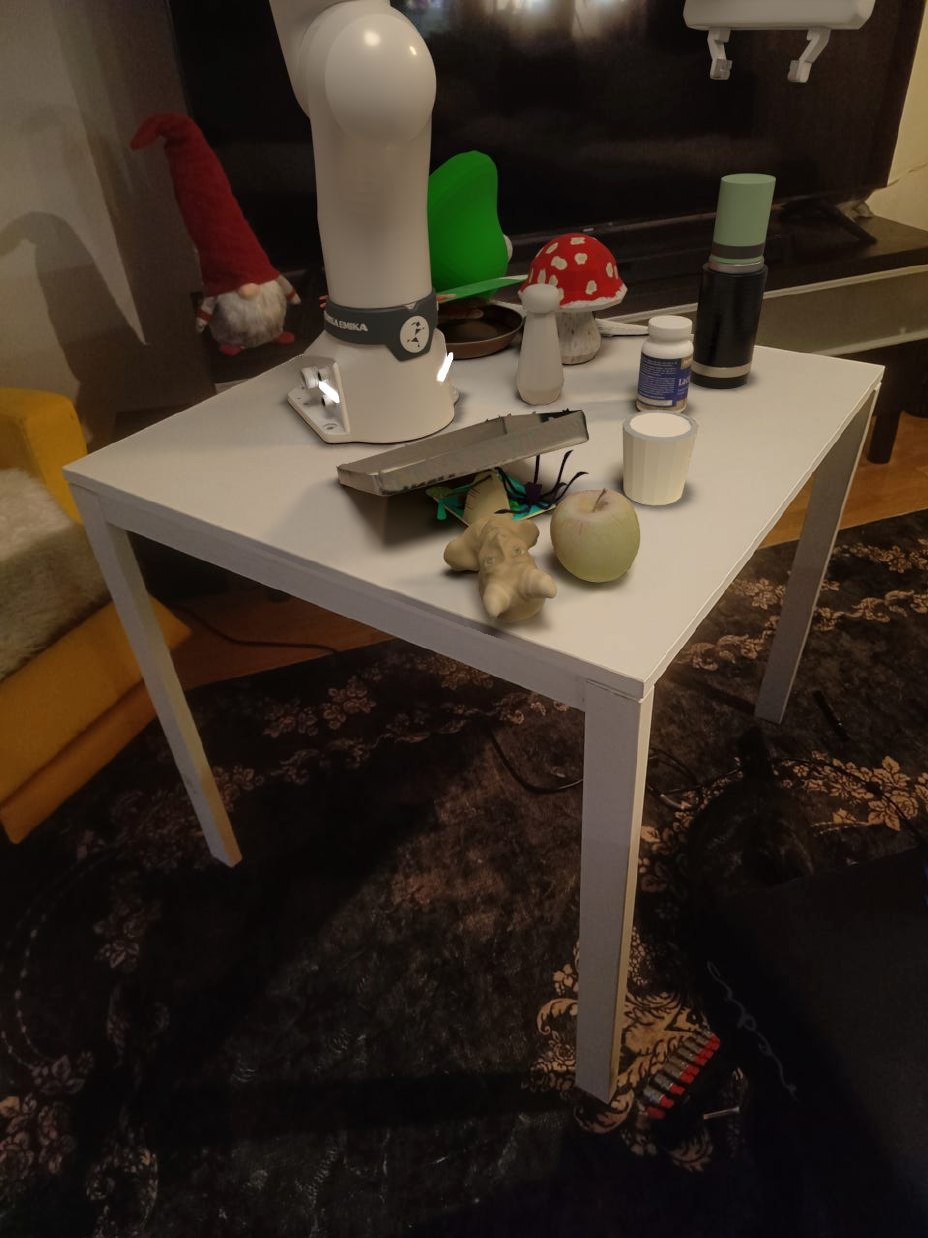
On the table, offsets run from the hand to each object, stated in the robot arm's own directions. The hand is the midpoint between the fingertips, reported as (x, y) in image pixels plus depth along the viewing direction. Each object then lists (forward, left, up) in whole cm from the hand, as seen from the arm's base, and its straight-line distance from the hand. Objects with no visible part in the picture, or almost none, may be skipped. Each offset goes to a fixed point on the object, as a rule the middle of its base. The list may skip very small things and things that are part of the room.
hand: (756, 80), depth 87 cm
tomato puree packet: (-27, -31, -23) cm, 47 cm away
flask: (+5, -7, -30) cm, 31 cm away
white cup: (+19, -34, -30) cm, 50 cm away
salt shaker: (-6, -27, -30) cm, 41 cm away
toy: (-46, -14, -18) cm, 51 cm away
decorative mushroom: (-13, -15, -30) cm, 36 cm away
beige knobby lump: (+17, -54, -27) cm, 63 cm away
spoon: (-22, -13, -28) cm, 38 cm away
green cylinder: (+5, -7, -16) cm, 18 cm away
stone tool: (-26, -17, -26) cm, 40 cm away
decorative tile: (+4, -59, -26) cm, 65 cm away
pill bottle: (+6, -19, -30) cm, 36 cm away
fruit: (+24, -49, -30) cm, 62 cm away
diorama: (+12, -47, -30) cm, 57 cm away
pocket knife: (-14, -6, -30) cm, 33 cm away
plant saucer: (-28, -21, -30) cm, 46 cm away
